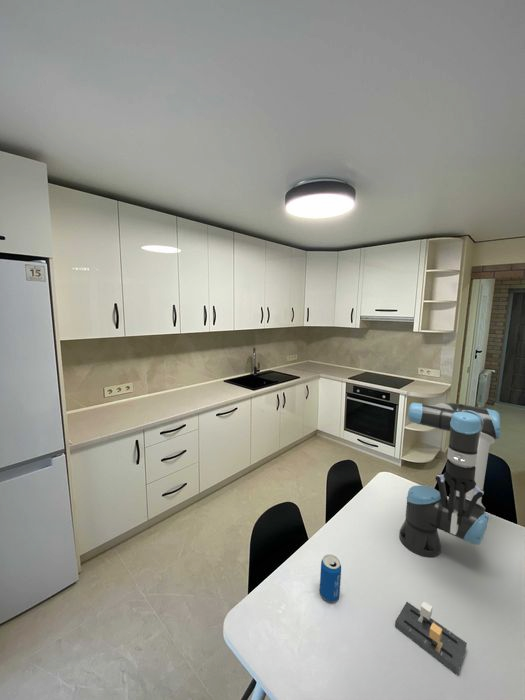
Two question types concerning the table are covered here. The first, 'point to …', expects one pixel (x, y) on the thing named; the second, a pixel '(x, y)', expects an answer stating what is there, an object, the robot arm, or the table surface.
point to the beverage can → (330, 578)
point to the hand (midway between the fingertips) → (453, 531)
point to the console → (418, 631)
